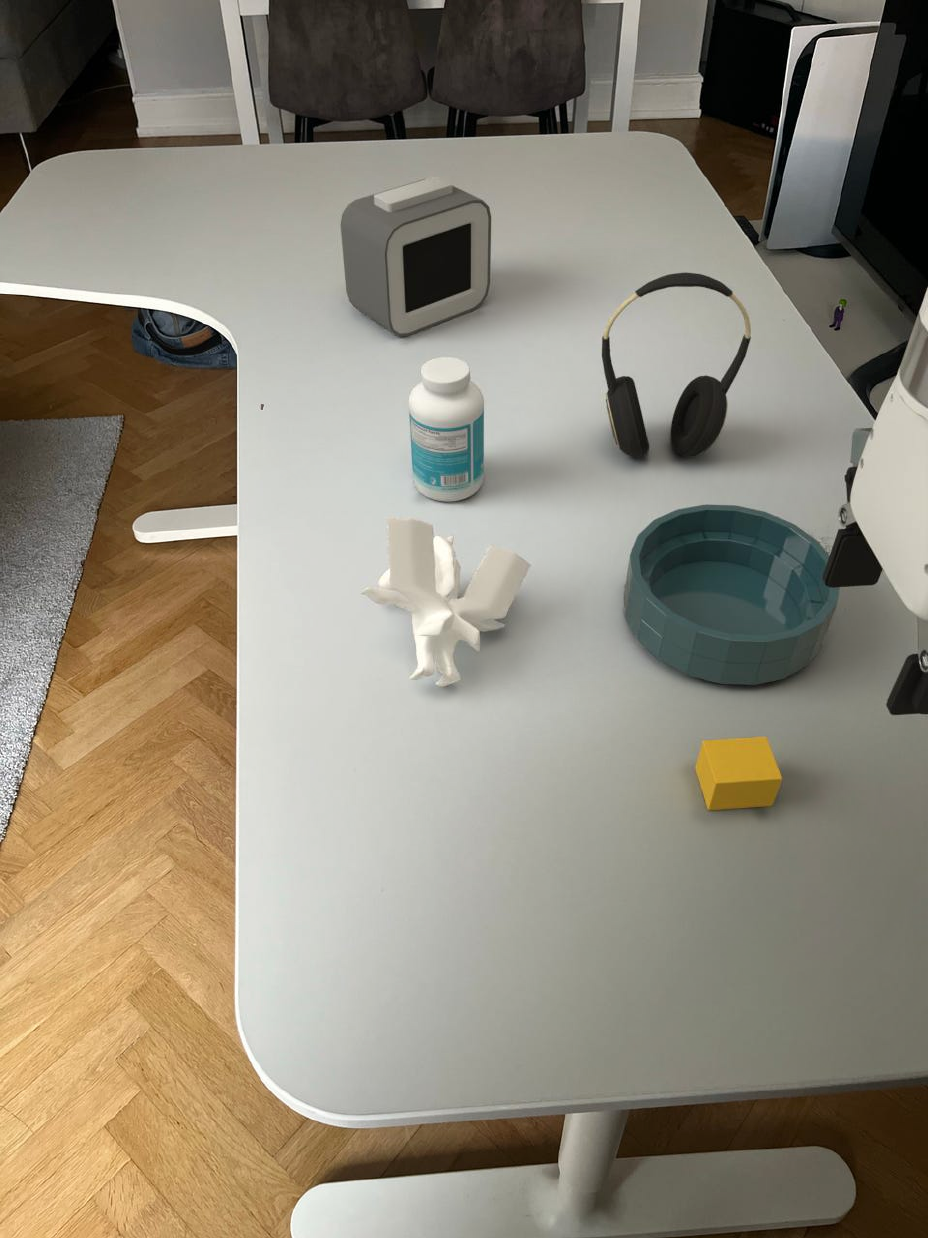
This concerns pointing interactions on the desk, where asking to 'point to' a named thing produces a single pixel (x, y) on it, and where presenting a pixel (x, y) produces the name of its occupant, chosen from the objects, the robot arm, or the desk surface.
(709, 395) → the headphones
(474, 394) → the pill bottle
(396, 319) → the alarm clock
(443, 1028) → the desk surface
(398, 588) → the figurine
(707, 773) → the yellow block
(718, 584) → the bowl
